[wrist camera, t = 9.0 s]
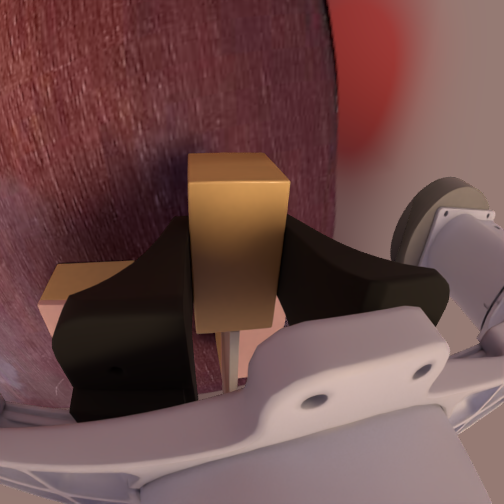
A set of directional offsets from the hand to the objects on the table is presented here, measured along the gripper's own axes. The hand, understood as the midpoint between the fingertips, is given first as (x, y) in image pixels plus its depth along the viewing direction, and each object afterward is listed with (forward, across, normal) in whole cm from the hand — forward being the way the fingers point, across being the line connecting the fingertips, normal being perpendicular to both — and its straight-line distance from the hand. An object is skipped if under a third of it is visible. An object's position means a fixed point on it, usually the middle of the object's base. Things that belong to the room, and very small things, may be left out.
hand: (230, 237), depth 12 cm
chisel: (+1, 0, +4) cm, 5 cm away
